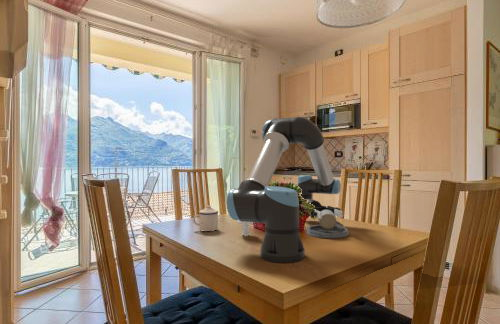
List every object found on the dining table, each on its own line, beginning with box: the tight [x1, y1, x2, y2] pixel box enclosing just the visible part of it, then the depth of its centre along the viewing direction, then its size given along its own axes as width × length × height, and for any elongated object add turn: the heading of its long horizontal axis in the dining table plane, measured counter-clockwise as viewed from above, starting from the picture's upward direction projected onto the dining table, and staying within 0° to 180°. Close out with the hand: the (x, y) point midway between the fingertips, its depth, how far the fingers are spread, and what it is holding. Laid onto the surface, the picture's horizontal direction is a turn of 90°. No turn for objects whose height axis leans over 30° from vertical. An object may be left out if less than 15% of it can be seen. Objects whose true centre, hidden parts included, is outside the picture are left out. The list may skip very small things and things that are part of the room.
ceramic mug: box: [317, 210, 344, 230], centre depth 131 cm, size 11×8×8 cm
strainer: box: [236, 220, 254, 237], centre depth 131 cm, size 7×7×15 cm
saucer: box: [306, 224, 350, 240], centre depth 133 cm, size 18×18×2 cm
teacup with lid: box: [192, 205, 219, 231], centre depth 142 cm, size 12×9×12 cm
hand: (331, 215), depth 128 cm, fingers closed on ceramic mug, 9 cm apart
